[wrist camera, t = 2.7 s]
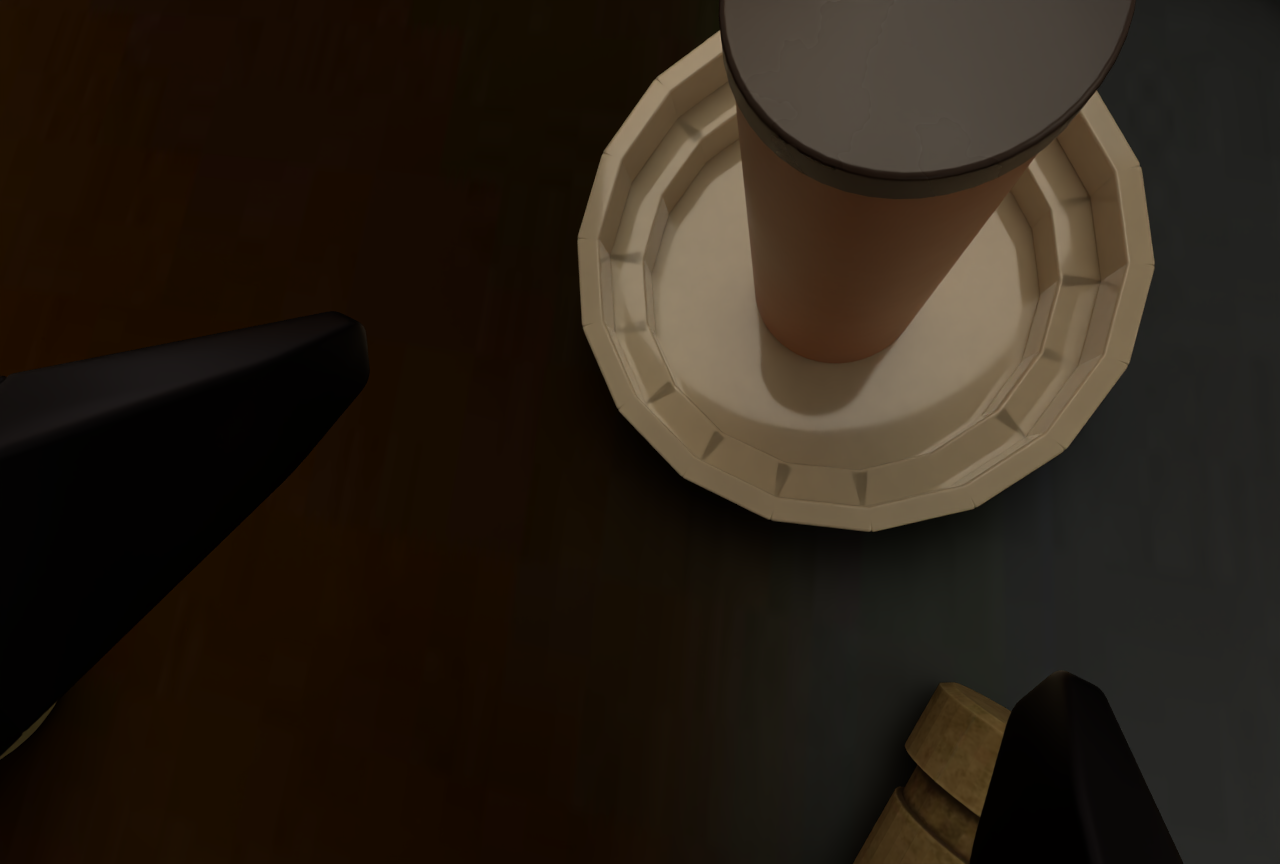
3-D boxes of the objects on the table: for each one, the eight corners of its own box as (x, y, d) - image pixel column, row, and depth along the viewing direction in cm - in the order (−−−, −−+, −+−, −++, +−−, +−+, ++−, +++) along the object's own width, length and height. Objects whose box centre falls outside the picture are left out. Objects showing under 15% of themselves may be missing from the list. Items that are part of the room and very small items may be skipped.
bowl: (718, 601, 21) (708, 620, 18) (541, 194, 24) (501, 142, 20) (1185, 404, 20) (1271, 384, 16) (948, -15, 22) (979, -111, 18)
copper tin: (794, 395, 21) (818, 248, 9) (724, 248, 22) (657, -76, 10) (955, 322, 20) (1224, 53, 8) (878, 173, 21) (1019, -277, 9)
